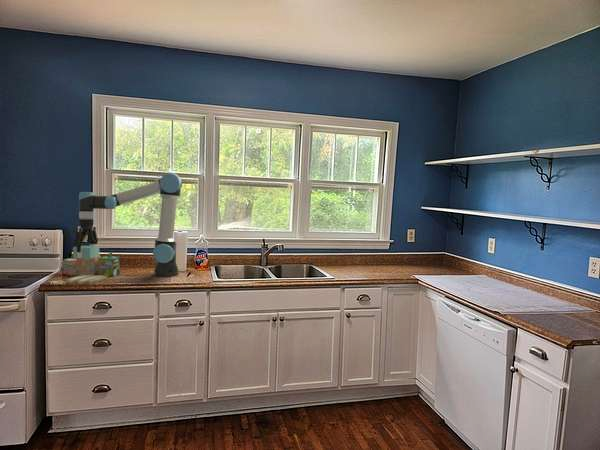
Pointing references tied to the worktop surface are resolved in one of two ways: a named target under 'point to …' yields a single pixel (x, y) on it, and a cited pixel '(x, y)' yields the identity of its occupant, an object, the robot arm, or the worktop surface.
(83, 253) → the brick
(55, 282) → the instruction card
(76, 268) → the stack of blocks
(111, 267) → the chalk box
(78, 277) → the build plate
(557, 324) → the worktop surface
